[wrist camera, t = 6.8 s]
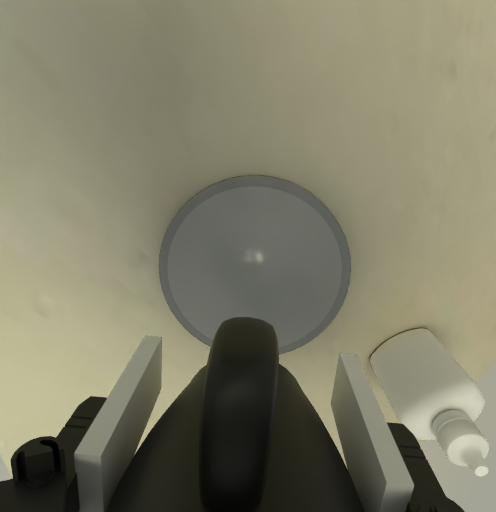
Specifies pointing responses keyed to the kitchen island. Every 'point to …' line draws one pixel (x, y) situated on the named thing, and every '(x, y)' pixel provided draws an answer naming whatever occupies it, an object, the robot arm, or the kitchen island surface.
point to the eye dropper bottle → (432, 395)
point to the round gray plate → (255, 260)
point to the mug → (238, 440)
